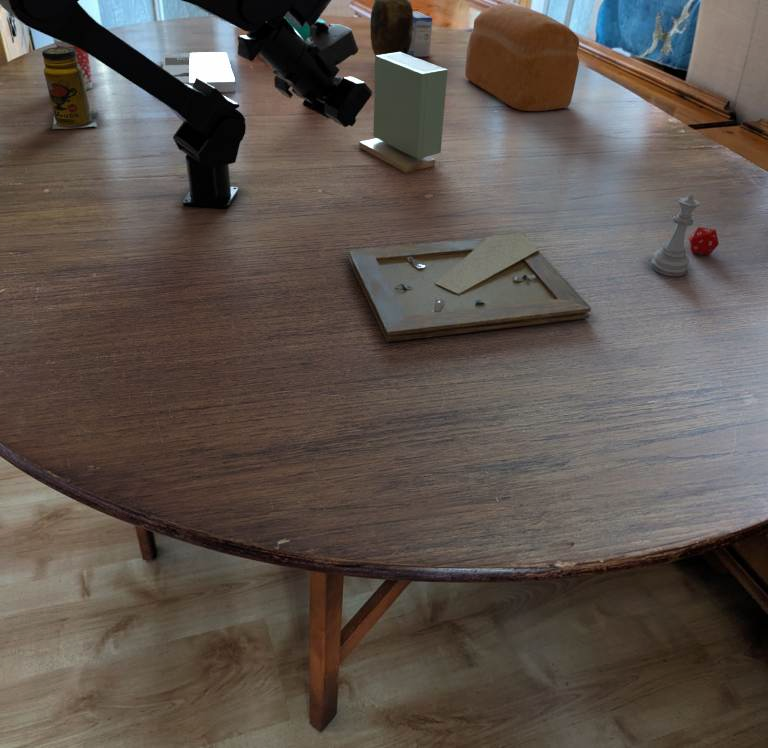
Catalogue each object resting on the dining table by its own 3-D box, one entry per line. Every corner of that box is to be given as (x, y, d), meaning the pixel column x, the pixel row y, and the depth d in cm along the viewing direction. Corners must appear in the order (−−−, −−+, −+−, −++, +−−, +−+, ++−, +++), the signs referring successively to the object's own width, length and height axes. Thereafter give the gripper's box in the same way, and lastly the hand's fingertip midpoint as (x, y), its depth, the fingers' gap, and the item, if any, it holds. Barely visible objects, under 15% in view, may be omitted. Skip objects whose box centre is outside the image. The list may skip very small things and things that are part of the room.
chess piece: (652, 257, 95) (673, 184, 89) (687, 264, 94) (711, 191, 88) (649, 272, 92) (671, 197, 86) (685, 279, 90) (710, 204, 84)
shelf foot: (405, 172, 115) (405, 166, 114) (359, 147, 123) (359, 141, 122) (434, 165, 118) (435, 159, 117) (387, 141, 126) (387, 135, 125)
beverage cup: (97, 90, 143) (82, 12, 134) (64, 92, 141) (47, 13, 132) (95, 81, 147) (80, 5, 139) (63, 83, 145) (46, 6, 137)
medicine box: (399, 49, 178) (401, 11, 173) (415, 48, 180) (417, 10, 175) (413, 57, 173) (416, 17, 167) (430, 56, 174) (433, 17, 169)
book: (163, 63, 160) (162, 53, 159) (226, 61, 163) (226, 52, 162) (164, 93, 142) (163, 83, 141) (235, 91, 146) (235, 81, 144)
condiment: (52, 130, 124) (34, 55, 116) (54, 114, 130) (38, 43, 123) (97, 127, 126) (82, 54, 118) (97, 112, 132) (83, 41, 125)
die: (727, 248, 96) (717, 219, 95) (715, 256, 94) (705, 226, 93) (701, 254, 98) (692, 227, 98) (689, 262, 96) (679, 234, 96)
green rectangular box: (416, 159, 115) (421, 73, 108) (373, 136, 123) (375, 55, 115) (440, 153, 118) (447, 69, 110) (396, 131, 125) (400, 51, 118)
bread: (515, 114, 141) (528, 26, 132) (459, 77, 160) (467, -2, 151) (576, 109, 145) (593, 23, 136) (514, 74, 165) (525, -3, 155)
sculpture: (415, 74, 161) (422, -27, 149) (378, 75, 159) (382, -28, 147) (399, 59, 171) (404, -38, 159) (364, 60, 169) (367, -38, 157)
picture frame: (522, 245, 96) (348, 261, 91) (524, 232, 95) (348, 248, 90) (588, 319, 82) (387, 343, 77) (591, 306, 81) (387, 329, 75)
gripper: (362, 19, 93) (422, 96, 105) (289, -6, 105) (350, 65, 117) (311, 90, 94) (376, 158, 106) (244, 57, 106) (309, 122, 118)
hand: (353, 123), depth 112 cm, fingers closed
